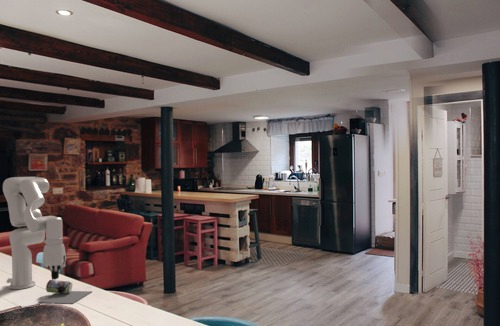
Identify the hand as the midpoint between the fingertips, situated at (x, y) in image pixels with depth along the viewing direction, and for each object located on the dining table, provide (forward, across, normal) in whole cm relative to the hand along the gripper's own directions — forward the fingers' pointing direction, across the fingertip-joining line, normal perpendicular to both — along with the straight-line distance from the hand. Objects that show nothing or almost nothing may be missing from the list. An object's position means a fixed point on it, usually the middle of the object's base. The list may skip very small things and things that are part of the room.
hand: (55, 278), depth 207 cm
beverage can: (+5, -6, +2) cm, 9 cm away
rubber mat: (+9, +6, 0) cm, 11 cm away
